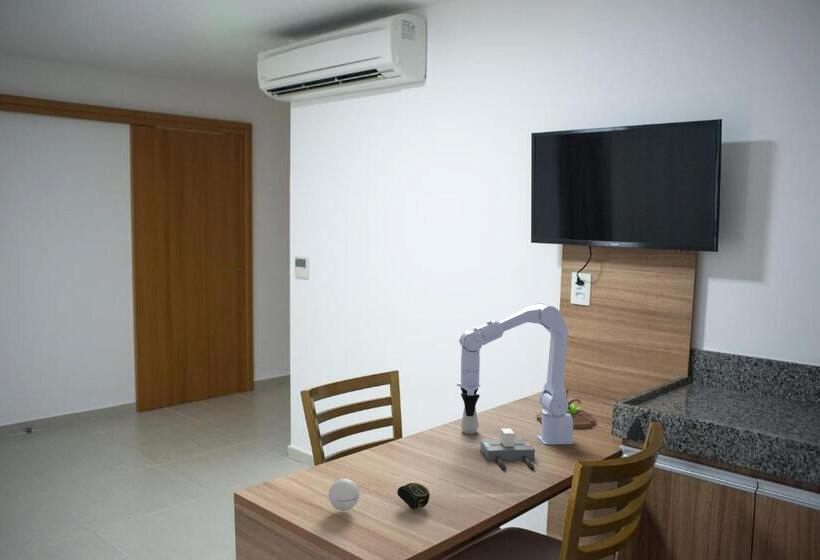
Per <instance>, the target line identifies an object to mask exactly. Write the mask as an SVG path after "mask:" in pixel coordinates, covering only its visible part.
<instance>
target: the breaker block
mask: <svg viewBox="0 0 820 560" xmlns="http://www.w3.org/2000/svg"><path fill="white" fill-rule="evenodd" d="M535 451H536V450H535V448H534V447H533V446H532V444H530V442H529V441H528V440H527V439H526V438H521V439H519V438H518V439H517V438H515V439H514V447H504V446H503V444H502V443H501V442H500V439H480V452H481V453H482V454H483V456H484V458H485V459H486V460H487V461H488V462H489V461H491V462H492V461H497V460H496V457H497V456H498V457H500V459H501V460H502V461H524V460H523V456H526V457H527V458H528V459H529V461H530V460H531V461H532V460H533V461H534V460H535V458H536V455H535V454H536V452H535Z"/></svg>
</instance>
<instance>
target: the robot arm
mask: <svg viewBox="0 0 820 560" xmlns="http://www.w3.org/2000/svg"><path fill="white" fill-rule="evenodd" d="M526 323H532V324H539V325H540V326H542V327H544V328H545V330H546V331H548V333H550V334H549V335H550V337H549V338H550V340H549V352H548V363H547V364H548V365H547V373H546V374H547V375H546V376H547V377H546V383H545V384H544V385H543V391H542V393H541V395H540V397H539V403H540V405H541V406H542V410H541V412H542V424H541V435H537V437H536V438H537V439H539V441H540V442H541V443H542V444H544V445H545V446H547V445H573V444H574V442H573V441H574V440H573V439H574V438H573V437H574V436H573V435H574V429H573V419H572V416H571V414H567V413H566V412H567V410H568V406H569V405H568V402H569V401H567V400H568V397H567V398H566V395H567V396H568V394H567V393H566V390H567V389H566V388H565V385H564V384H565V373H566V372H565V371H566V361H567V349H568V337H569V328H568V326H567V324H566V322H565V319H564V317H563V312H561V311H560V310H559V309H557V307H555V306H553V305H548V304H545V303H543V302H542V303H541V302H539V303H536V304H535V305H531V306H530V305H529V306H528V307H526V308H524V309H522V310H521V311H518V312H516V313H514V314H512V315H511V316H508V317H507V318H505V319H503V320H500V321H498V320H496V319H495V320H494V319H493V320H490V319H489V320H486V323H485V324H483V325H480V326H478V327H476V326H475V327H472V330H465V331H464V332H462V334H461V336H460V338H459V339H458V341H459V344H460V346H461V354H460V355H461V356H460V358H461V359H460V382H457V383H456V387H460V391H461V393H460V396H461V399H462V401H463V403H464V407H465V411H466V416H472V417H473V415H474V411H475V408H476V405H477V403H478V400H479V398H480V394H477V392H478V390H479V388H480V386H481V384H480V364H481V363H480V362H481V359H480V358H481V356H480V355H481V354H480V350H481V348H482V347H483V346H484V345H487V344H489V343H491V342H493V341H495V340H498V339H500V338H502V337H503V335H504V333H505V332H507V331H509V330H511V329H513V328H516V327H519V326H521V325H523V324H526Z"/></svg>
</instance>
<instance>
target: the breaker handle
mask: <svg viewBox="0 0 820 560" xmlns="http://www.w3.org/2000/svg"><path fill="white" fill-rule="evenodd" d="M499 434H500V439H499V440H500V442H501V443H502V444H503V446H504V447H514V439H516V438H515V432H514V431H513V430H512V429H511V428H509V427H508V428H500V433H499Z"/></svg>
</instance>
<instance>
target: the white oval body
mask: <svg viewBox="0 0 820 560" xmlns="http://www.w3.org/2000/svg"><path fill="white" fill-rule="evenodd" d="M367 492H368V493H369V492H371V491H370V490H369V491H368V490H367ZM364 493H365V491H363V492H361V494H364ZM359 497H360V490H359V487H358V485H357V484H356V483H355V482H354V480H352V479H349V478H340V479H337V480H336V481H334V482H333V483H332V484H331V485H330V488H329V490H328V500H329V503H330V504H331V506H332V507H333V508H334V509H336V510H338V511H340V512H344V511H345V512H346V511H349V510H351V509H353V508H355V506H356V505H357V503H358V502H359V500H360V498H359Z"/></svg>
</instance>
